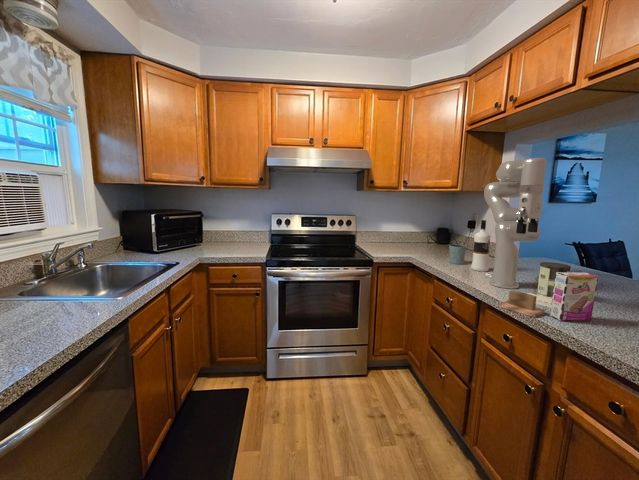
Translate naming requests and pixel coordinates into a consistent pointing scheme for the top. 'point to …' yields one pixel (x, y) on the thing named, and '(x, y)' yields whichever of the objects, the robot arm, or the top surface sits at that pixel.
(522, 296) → the plate with tan block
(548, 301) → the block
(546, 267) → the coffee can
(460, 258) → the light blue cup
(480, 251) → the vodka
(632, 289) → the top surface
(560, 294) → the candy bar box
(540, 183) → the robot arm
